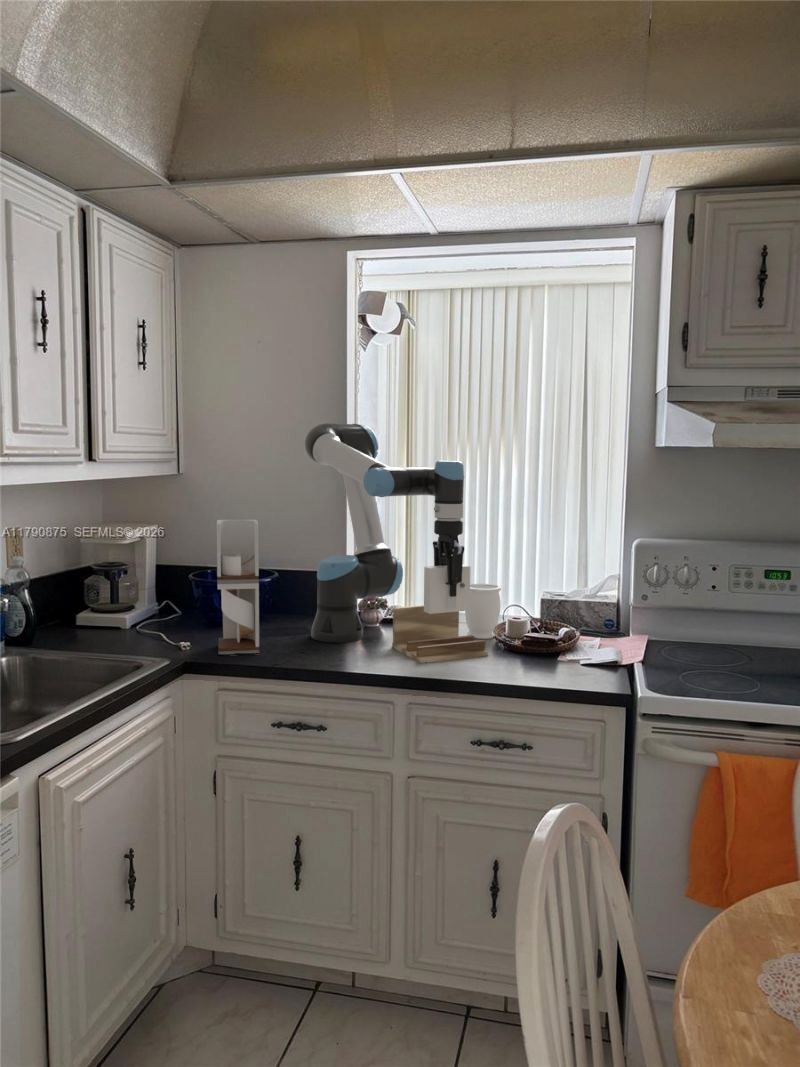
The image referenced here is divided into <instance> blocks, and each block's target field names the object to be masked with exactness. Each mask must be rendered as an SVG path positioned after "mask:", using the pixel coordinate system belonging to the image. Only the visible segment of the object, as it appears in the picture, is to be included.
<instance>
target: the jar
mask: <svg viewBox="0 0 800 1067" xmlns="http://www.w3.org/2000/svg"><path fill="white" fill-rule="evenodd" d="M501 590H502V586H500V585H497V584H491V583H470V610H469V611H464V615H465V621H466V622H465V623H466V626H467V629H468V630H469V631H468V632H467V635H466V636H469V635H473V636H474V639H477V640H487V639H488V640H491V639H494V638H493V636H492V631H493V629H494V628H495V626H497V627H498V624H499V620H500V619H499V618H500V615H501V606H502V605H501V604H502V603H501V596H500V592H501Z"/></svg>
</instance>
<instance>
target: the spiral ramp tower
mask: <svg viewBox="0 0 800 1067" xmlns="http://www.w3.org/2000/svg"><path fill="white" fill-rule="evenodd" d="M258 521H259V520H258V519H217V521H216V566H217V567H216V576H217V579H216V580H217V582H216V584H217V590H220V594H221V596H220V597H221V600H220V601H221V611H222V637H219V638H218V647H217V648H218V649H217V652H218V653H217V654H235V653H259V654H260V598H259V597H260V590H259V589H260V580H259V576H260V575H259V571H260V569H259V568H260V566H259V563H260V562H259V559H260V558H259V556H260V555H259V554H260V552H259V546H260V545H259V522H258Z"/></svg>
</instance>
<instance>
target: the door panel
mask: <svg viewBox="0 0 800 1067" xmlns="http://www.w3.org/2000/svg"><path fill="white" fill-rule="evenodd" d="M423 571H424V572H423V574H424V576H423V577H424V578H423V580H424V582H423V605H424V612H426V613H429V614H434V613H445V612H457V611H459V612H465V611H469V610H470V584H471V565H467V564H463V565H462V582H461V583H458V584H457V592H456V608H453V609H446V583H447V582H448V574H447V565H445V566H434V565H431V566H429V565H428V566H424V567H423Z"/></svg>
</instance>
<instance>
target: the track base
mask: <svg viewBox="0 0 800 1067" xmlns="http://www.w3.org/2000/svg"><path fill="white" fill-rule="evenodd" d="M459 621H460V611H457V612H445V613H434V614H429V613H426V612H424V604H421V605H411V606H410V605H408V606H397V607H392V642H391V643H392V644H391V645H392V646H391V647H392V648H394V649H395V650H397V651H398V652H400V653H402V654H404V655H405V654H406V656H407V657H409V658H410V659H412V660H414V661H416V662H418V663H420V664H426V663H425V662H427V663H434V662H435V661H436V662H443V661H442V660H445V661H451V659H454V660H460V659H461V660H462V659H469V658H479V657H487V656H488V653H489V651H488V650H486V640H485V639H477V640H475V638H474V636H473V635H469V636H468V635H462V636H461V635H460V636H459V632H460V630H459V626H460V625H459V624H460V622H459Z"/></svg>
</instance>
